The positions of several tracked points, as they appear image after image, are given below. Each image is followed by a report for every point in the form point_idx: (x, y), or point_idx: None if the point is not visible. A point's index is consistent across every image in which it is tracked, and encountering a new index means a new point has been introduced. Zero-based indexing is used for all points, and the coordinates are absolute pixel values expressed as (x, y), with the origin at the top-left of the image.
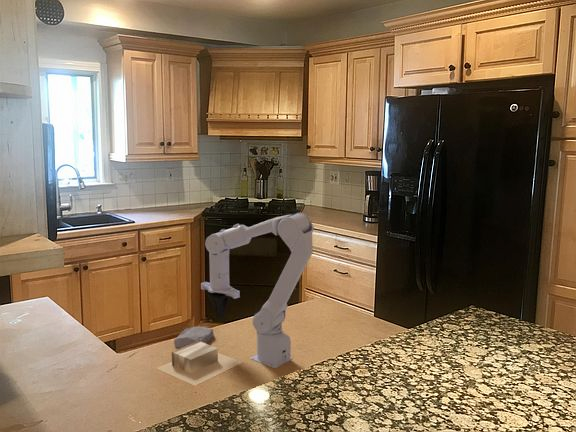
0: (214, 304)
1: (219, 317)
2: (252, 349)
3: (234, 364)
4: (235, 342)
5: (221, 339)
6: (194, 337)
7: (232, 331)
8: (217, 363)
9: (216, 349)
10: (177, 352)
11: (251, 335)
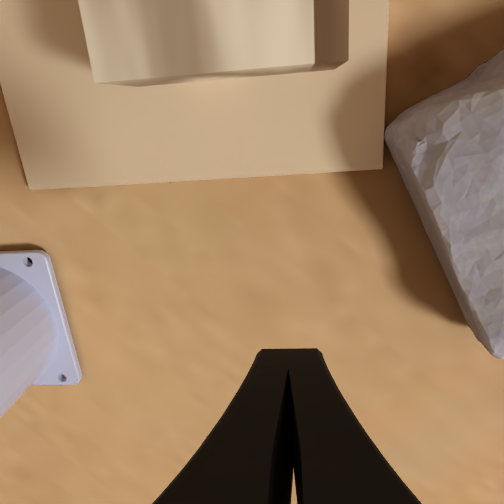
0: (332, 502)
1: (259, 353)
2: (157, 347)
3: (31, 133)
4: None
5: (400, 334)
6: (475, 119)
7: (430, 440)
8: None
9: (96, 68)
10: None
11: None
